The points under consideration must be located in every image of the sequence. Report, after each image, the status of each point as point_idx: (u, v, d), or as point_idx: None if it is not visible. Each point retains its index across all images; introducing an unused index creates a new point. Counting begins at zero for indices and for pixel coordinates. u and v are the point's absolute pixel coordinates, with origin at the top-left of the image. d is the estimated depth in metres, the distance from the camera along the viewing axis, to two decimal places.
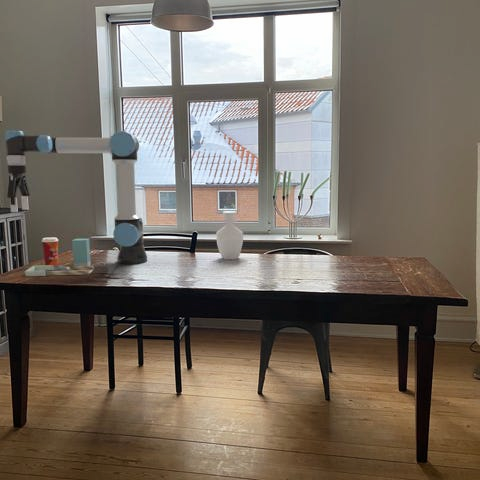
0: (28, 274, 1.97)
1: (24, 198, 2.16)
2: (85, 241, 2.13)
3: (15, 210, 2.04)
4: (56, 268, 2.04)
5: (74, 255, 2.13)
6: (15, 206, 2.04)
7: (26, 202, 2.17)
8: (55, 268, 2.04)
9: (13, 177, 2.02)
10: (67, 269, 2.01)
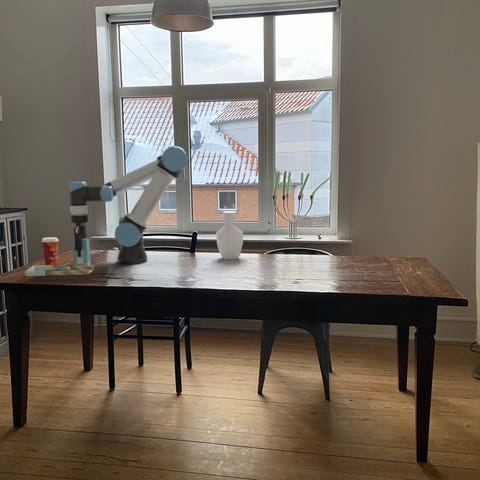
0: (28, 274, 1.97)
1: None
2: (85, 241, 2.13)
3: (81, 262, 2.13)
4: (56, 268, 2.04)
5: (74, 255, 2.13)
6: (81, 258, 2.13)
7: None
8: (55, 268, 2.04)
9: (78, 231, 2.08)
10: (67, 269, 2.01)
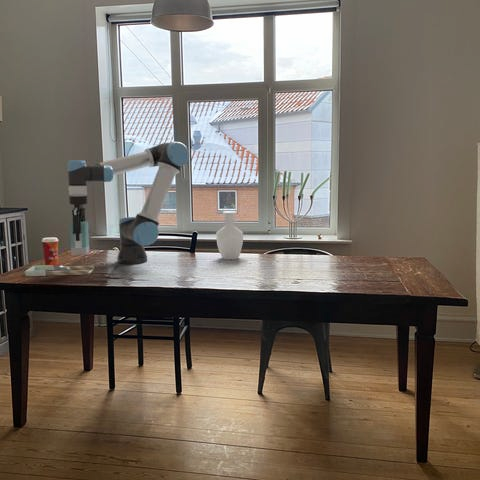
0: (28, 274, 1.97)
1: None
2: (84, 224, 1.99)
3: (79, 246, 2.00)
4: (56, 268, 2.04)
5: (72, 239, 1.99)
6: (79, 242, 1.99)
7: None
8: (55, 268, 2.04)
9: (76, 212, 1.95)
10: (67, 269, 2.01)
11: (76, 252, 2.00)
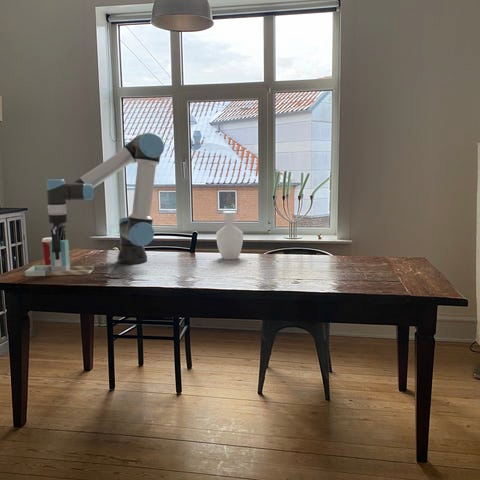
0: (28, 274, 1.97)
1: None
2: (63, 242, 1.99)
3: (59, 265, 2.00)
4: None
5: (52, 257, 2.00)
6: (59, 261, 2.00)
7: None
8: None
9: (55, 231, 1.95)
10: (49, 269, 2.00)
11: None
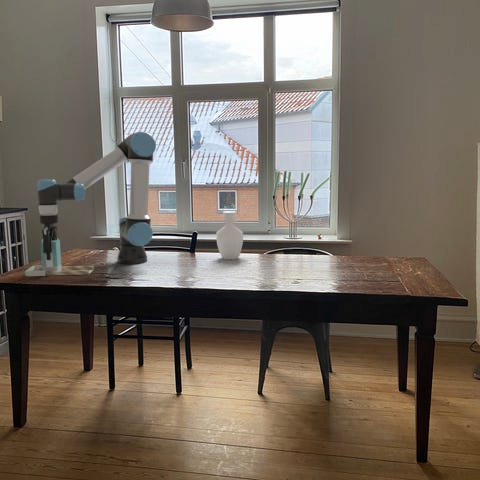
0: (28, 274, 1.97)
1: None
2: (55, 243, 1.99)
3: (50, 265, 2.00)
4: None
5: (43, 258, 1.99)
6: (51, 261, 1.99)
7: None
8: None
9: (46, 232, 1.94)
10: (41, 270, 2.00)
11: None
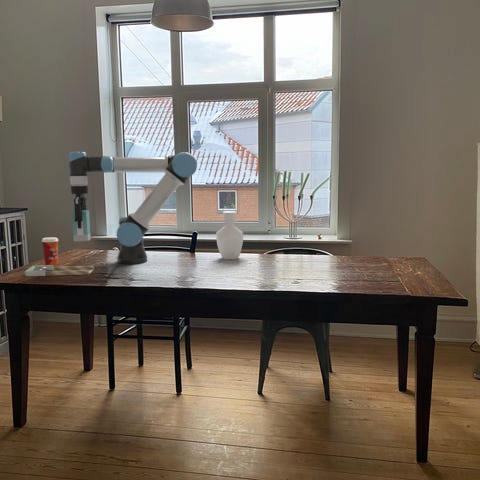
0: (28, 274, 1.97)
1: None
2: (85, 212, 2.10)
3: (81, 233, 2.10)
4: None
5: (74, 226, 2.10)
6: (81, 229, 2.10)
7: None
8: None
9: (78, 201, 2.05)
10: (41, 270, 2.00)
11: (78, 239, 2.11)
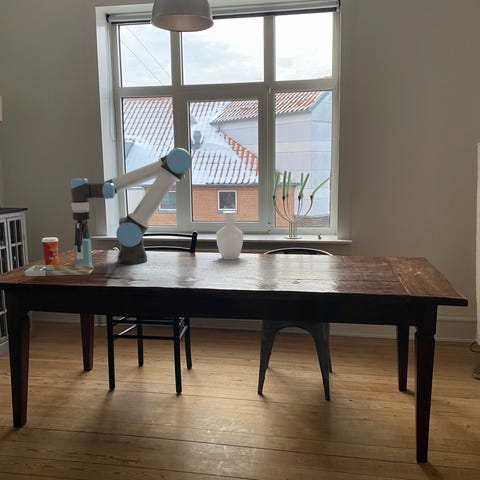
0: (28, 274, 1.97)
1: None
2: (87, 241, 2.12)
3: (81, 257, 2.09)
4: None
5: (75, 255, 2.12)
6: (81, 253, 2.09)
7: None
8: None
9: (79, 225, 2.06)
10: (41, 270, 2.00)
11: None
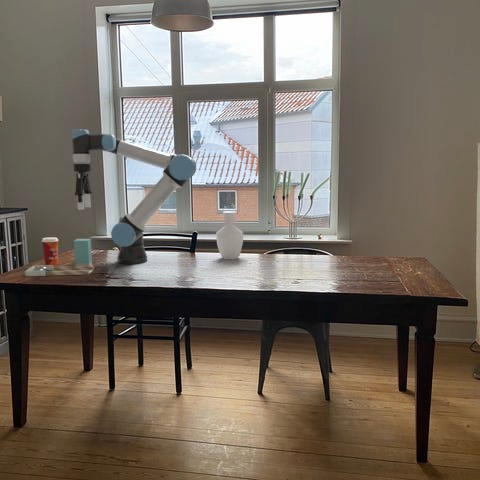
0: (28, 274, 1.97)
1: (87, 196, 2.21)
2: (87, 241, 2.12)
3: (82, 207, 2.08)
4: None
5: (75, 255, 2.12)
6: (82, 203, 2.08)
7: (88, 200, 2.21)
8: None
9: (80, 175, 2.06)
10: (41, 270, 2.00)
11: None
